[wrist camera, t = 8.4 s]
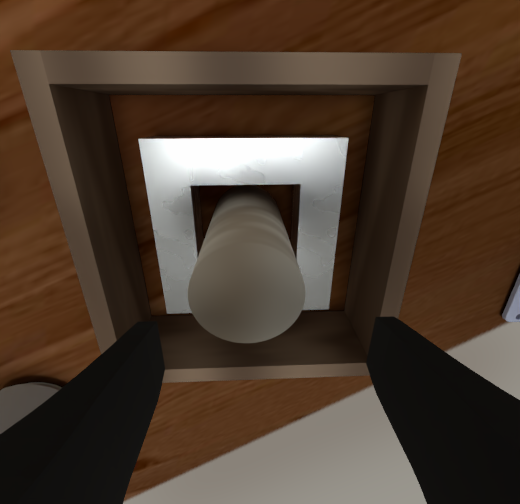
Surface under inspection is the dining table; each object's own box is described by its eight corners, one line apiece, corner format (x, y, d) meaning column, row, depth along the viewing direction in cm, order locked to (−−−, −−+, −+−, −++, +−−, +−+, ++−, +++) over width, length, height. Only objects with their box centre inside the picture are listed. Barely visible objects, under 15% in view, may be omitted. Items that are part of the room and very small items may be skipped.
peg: (282, 187, 17) (314, 247, 9) (275, 248, 19) (296, 345, 11) (215, 182, 17) (186, 239, 9) (213, 244, 19) (188, 341, 11)
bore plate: (334, 135, 16) (348, 137, 14) (319, 288, 20) (328, 309, 18) (153, 136, 16) (138, 138, 14) (176, 291, 20) (167, 313, 18)
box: (397, 73, 15) (461, 53, 11) (355, 321, 22) (384, 374, 17) (84, 72, 15) (10, 50, 10) (139, 327, 21) (110, 384, 17)
